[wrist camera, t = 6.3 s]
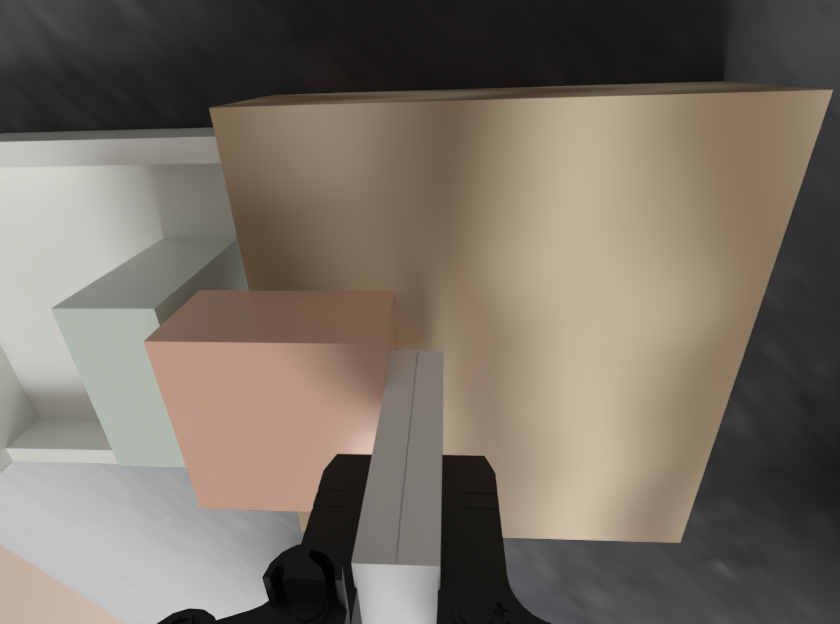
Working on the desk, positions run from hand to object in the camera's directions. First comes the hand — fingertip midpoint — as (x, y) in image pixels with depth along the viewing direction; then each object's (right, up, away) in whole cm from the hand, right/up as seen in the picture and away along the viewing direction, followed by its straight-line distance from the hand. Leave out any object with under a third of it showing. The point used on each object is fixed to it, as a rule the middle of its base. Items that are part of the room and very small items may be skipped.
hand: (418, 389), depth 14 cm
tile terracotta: (-4, 0, +2) cm, 4 cm away
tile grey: (-7, +1, +3) cm, 8 cm away
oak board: (+3, +3, +6) cm, 7 cm away
